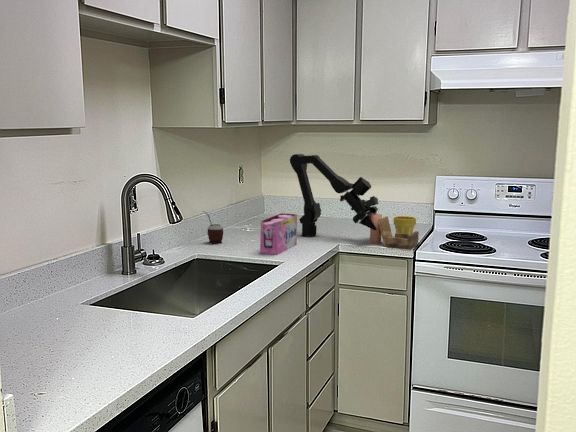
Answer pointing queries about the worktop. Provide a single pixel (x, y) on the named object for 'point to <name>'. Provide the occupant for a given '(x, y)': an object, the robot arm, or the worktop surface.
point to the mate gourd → (214, 232)
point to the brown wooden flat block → (385, 229)
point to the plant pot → (404, 224)
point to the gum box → (278, 233)
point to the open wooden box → (403, 241)
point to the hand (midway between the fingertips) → (377, 228)
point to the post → (376, 234)
